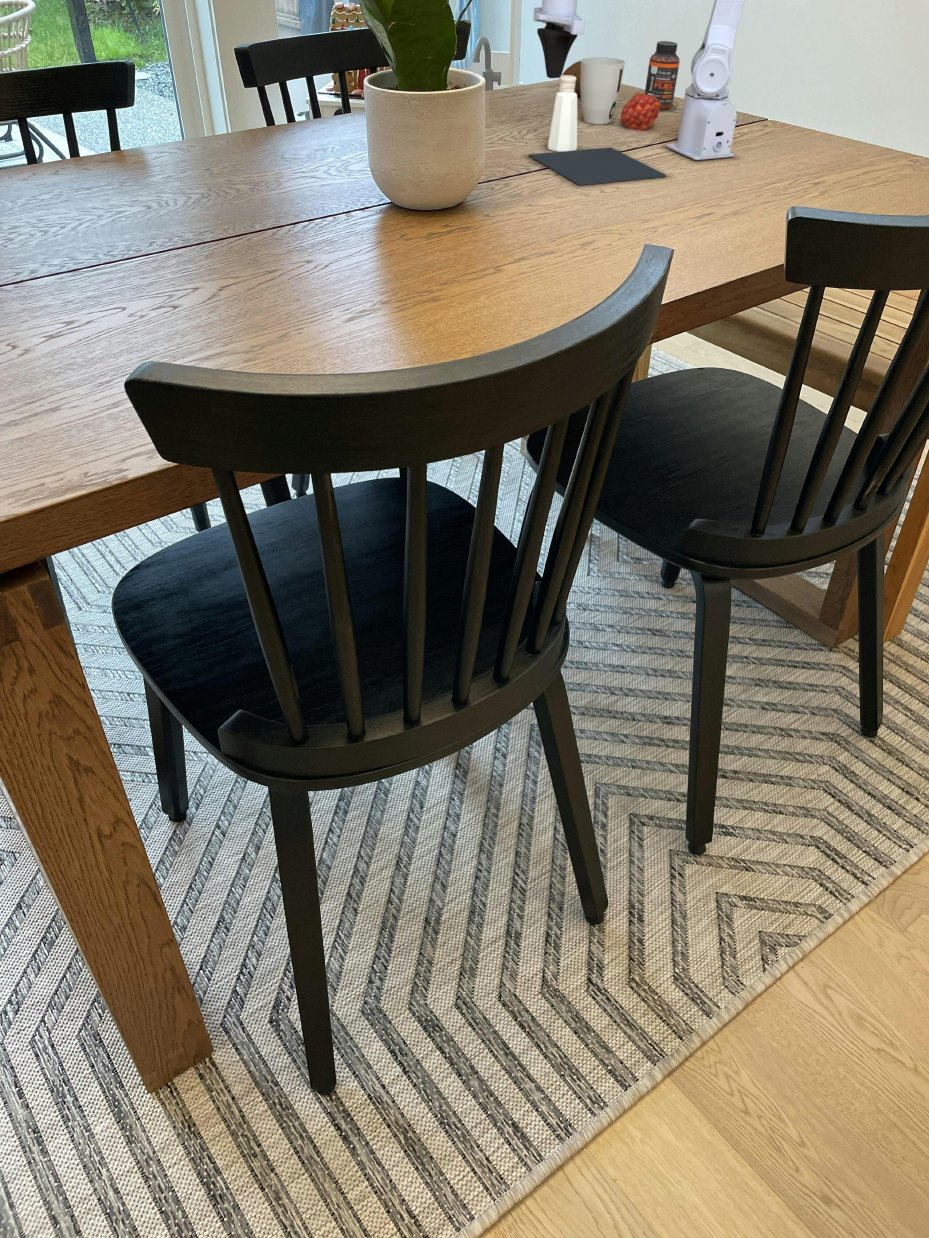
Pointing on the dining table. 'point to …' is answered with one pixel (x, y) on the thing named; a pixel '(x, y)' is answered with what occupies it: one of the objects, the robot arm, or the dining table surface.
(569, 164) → the mat
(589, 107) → the cup
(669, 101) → the supplement bottle
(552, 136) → the salt shaker
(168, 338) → the dining table surface
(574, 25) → the robot arm
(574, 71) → the potato
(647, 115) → the decorative stone
